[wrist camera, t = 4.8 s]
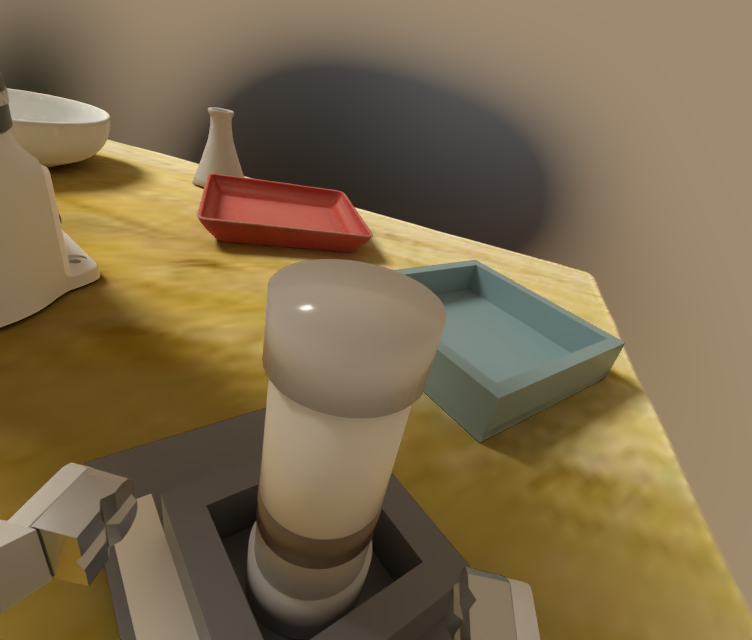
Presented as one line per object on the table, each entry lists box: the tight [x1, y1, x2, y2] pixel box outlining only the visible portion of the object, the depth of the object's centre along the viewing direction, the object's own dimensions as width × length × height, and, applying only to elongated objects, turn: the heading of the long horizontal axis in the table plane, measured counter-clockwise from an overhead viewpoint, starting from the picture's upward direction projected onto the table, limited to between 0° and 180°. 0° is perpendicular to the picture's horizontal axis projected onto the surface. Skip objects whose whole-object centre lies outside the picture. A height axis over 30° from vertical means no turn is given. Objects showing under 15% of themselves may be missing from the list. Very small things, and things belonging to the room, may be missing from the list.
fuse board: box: [84, 408, 471, 640], centre depth 16 cm, size 18×12×4 cm, turn 36°
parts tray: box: [394, 260, 625, 443], centre depth 35 cm, size 16×16×4 cm
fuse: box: [246, 259, 447, 639], centre depth 13 cm, size 4×4×12 cm
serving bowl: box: [7, 89, 110, 167], centre depth 53 cm, size 21×21×7 cm
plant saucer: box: [197, 174, 373, 252], centre depth 52 cm, size 18×18×3 cm
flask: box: [193, 107, 244, 187], centre depth 59 cm, size 7×7×10 cm
